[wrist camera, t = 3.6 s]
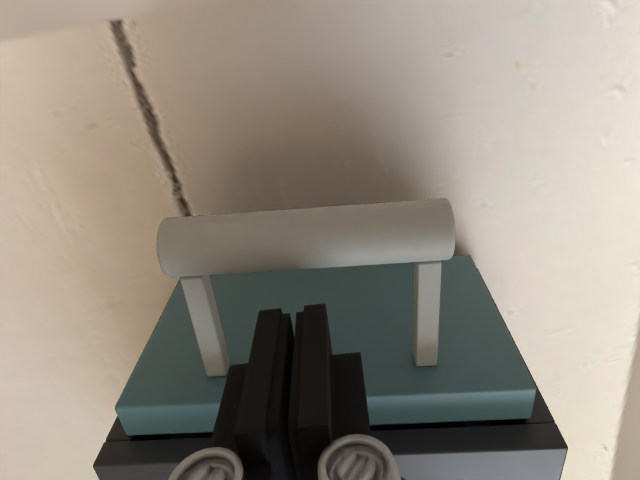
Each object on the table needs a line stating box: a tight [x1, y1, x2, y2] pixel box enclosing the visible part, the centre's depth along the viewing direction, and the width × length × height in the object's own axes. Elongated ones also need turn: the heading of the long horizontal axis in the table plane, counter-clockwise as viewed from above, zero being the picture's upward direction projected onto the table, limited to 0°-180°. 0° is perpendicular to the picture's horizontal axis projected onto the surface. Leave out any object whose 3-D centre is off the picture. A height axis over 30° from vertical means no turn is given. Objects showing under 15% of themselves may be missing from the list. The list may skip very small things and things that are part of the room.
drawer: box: [115, 198, 536, 439], centre depth 18 cm, size 18×11×7 cm, turn 5°
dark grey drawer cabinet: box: [93, 269, 568, 480], centre depth 20 cm, size 15×13×9 cm
